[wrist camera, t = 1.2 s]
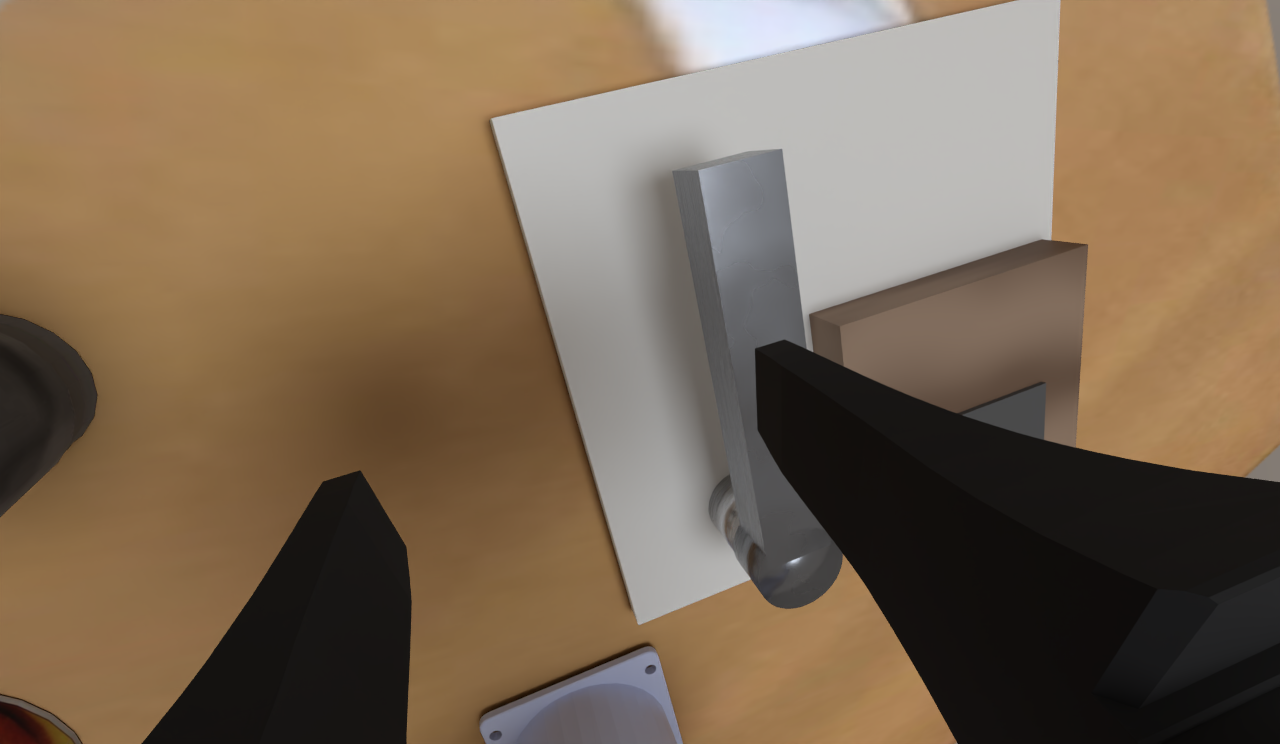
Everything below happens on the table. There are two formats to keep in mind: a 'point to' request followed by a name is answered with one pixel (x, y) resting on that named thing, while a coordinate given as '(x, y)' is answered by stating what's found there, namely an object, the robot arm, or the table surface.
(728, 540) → the post
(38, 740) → the canned food
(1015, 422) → the pad
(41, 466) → the beverage cup
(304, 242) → the table surface
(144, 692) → the table surface
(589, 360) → the plate
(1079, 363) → the door slab
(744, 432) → the bar
